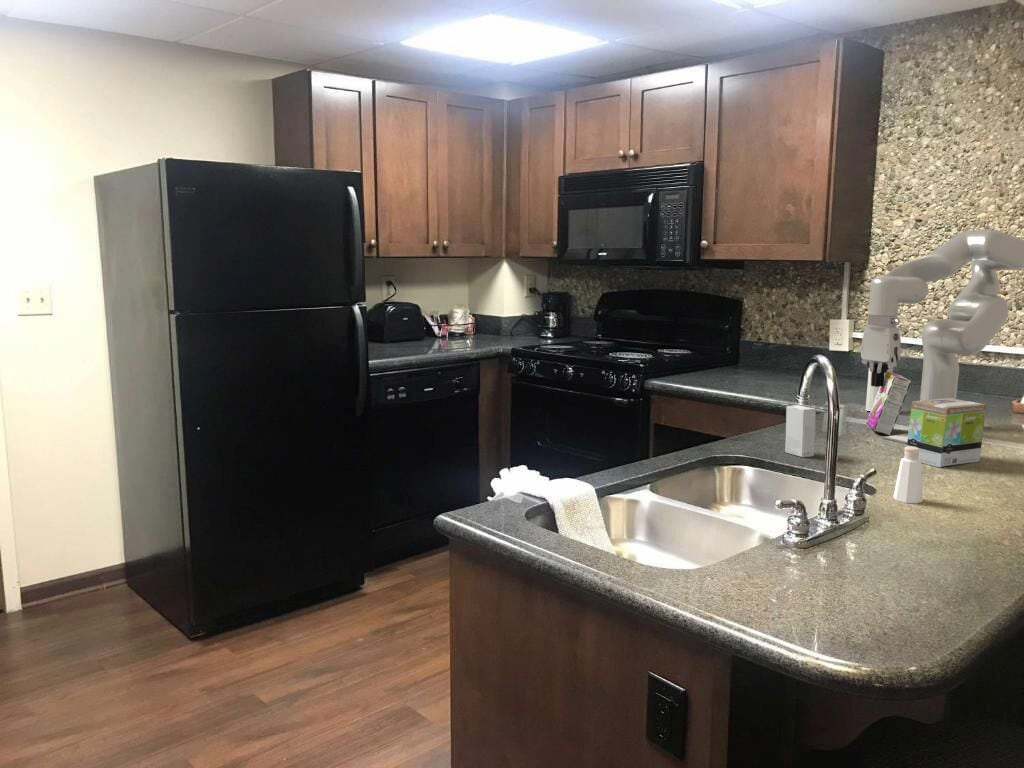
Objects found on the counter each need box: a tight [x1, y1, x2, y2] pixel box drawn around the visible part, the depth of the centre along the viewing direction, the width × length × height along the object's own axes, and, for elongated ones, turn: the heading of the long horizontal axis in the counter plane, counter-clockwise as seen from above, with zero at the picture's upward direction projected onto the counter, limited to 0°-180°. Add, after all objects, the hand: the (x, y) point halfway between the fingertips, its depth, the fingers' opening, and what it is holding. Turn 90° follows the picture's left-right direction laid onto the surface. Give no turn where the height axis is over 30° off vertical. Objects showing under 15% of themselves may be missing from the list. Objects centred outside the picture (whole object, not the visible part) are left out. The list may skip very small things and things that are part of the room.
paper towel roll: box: [865, 362, 894, 412], centre depth 263 cm, size 7×6×21 cm
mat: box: [881, 432, 908, 444], centre depth 221 cm, size 13×16×1 cm
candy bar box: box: [865, 371, 912, 436], centre depth 232 cm, size 11×5×16 cm, turn 168°
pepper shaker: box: [893, 445, 923, 505], centre depth 167 cm, size 5×5×11 cm
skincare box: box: [784, 404, 817, 458], centre depth 205 cm, size 6×4×12 cm
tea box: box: [906, 398, 987, 468], centre depth 200 cm, size 15×10×15 cm
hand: (877, 386), depth 233 cm, fingers closed
